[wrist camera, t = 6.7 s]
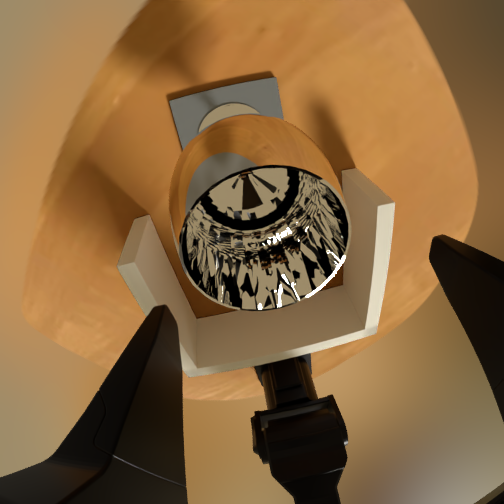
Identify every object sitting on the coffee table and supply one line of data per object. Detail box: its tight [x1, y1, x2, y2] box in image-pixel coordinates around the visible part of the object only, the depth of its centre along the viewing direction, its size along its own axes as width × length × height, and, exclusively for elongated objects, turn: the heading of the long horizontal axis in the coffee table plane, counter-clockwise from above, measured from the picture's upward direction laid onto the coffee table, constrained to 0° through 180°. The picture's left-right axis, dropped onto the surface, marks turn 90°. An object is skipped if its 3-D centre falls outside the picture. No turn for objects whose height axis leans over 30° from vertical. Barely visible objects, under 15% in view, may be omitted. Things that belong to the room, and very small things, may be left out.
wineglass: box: [169, 103, 352, 311], centre depth 13 cm, size 6×6×12 cm
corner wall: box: [117, 168, 395, 377], centre depth 22 cm, size 13×16×6 cm
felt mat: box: [169, 77, 284, 150], centre depth 17 cm, size 6×6×1 cm
